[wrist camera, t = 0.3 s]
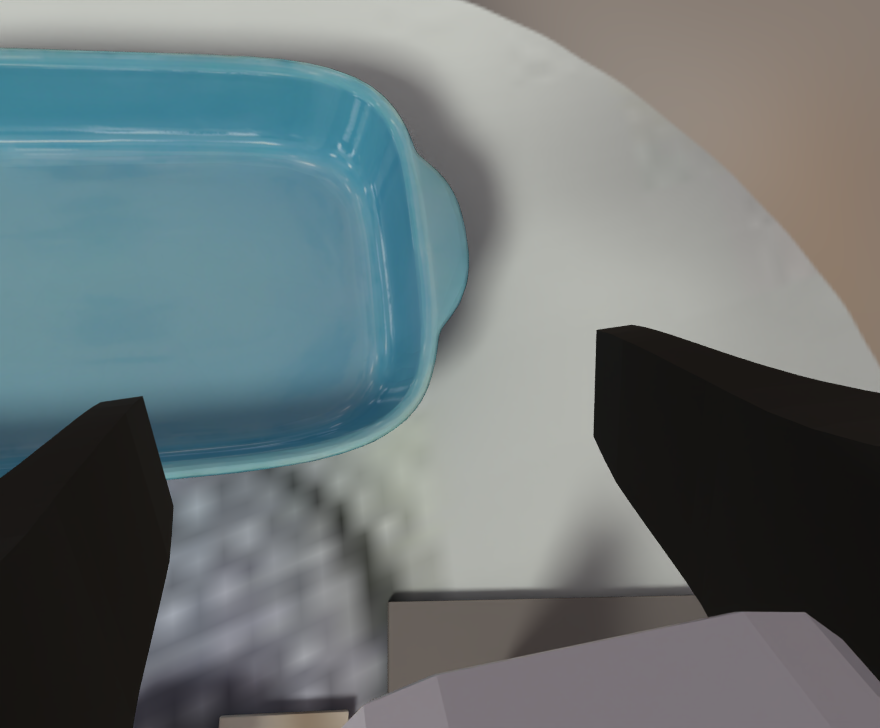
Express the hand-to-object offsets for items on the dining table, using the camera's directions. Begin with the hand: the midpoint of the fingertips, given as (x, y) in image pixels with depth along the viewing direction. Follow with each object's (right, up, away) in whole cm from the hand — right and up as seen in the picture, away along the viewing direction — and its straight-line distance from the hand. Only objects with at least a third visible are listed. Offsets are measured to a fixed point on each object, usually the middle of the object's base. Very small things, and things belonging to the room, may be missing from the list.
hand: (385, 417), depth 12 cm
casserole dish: (-17, +4, +29) cm, 34 cm away
